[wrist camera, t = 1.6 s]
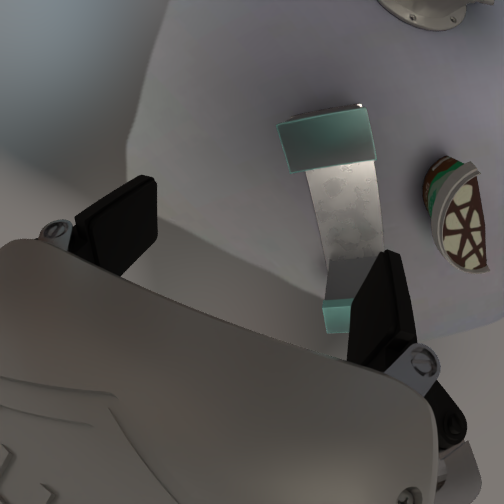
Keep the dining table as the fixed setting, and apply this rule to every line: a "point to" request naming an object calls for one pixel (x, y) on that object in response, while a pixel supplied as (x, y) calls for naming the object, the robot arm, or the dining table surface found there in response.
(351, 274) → the mounted module
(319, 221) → the rail
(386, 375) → the robot arm
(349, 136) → the block
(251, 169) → the dining table surface
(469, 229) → the food container
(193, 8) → the dining table surface
